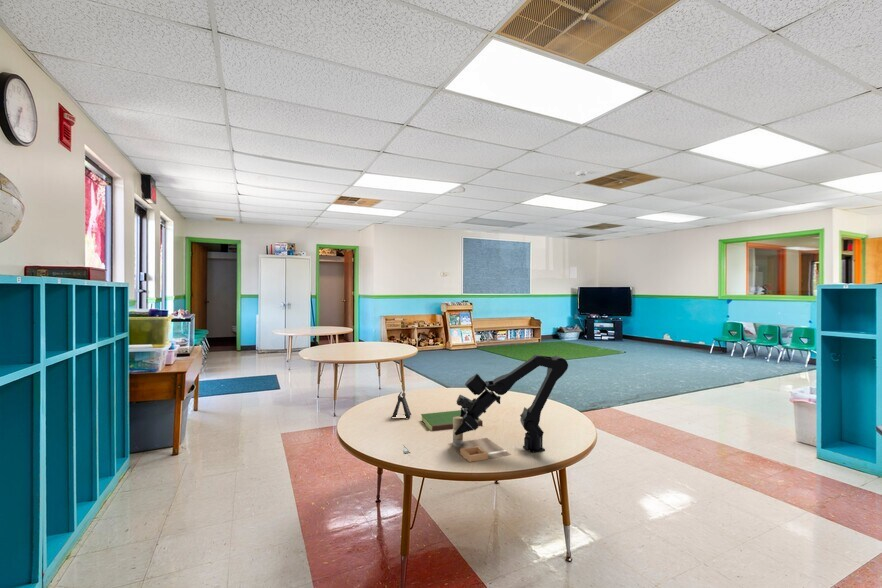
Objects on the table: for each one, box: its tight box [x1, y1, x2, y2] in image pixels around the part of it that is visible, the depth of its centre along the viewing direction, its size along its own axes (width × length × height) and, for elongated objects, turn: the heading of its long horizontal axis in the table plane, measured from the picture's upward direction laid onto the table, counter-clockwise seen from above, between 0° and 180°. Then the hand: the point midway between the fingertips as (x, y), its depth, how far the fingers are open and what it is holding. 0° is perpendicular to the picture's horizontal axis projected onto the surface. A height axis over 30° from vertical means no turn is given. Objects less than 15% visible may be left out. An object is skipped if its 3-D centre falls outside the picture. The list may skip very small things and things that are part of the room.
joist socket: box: [459, 446, 489, 463], centre depth 150 cm, size 8×8×2 cm
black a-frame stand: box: [391, 391, 412, 419], centre depth 200 cm, size 9×6×12 cm, turn 86°
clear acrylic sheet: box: [448, 437, 512, 463], centre depth 157 cm, size 18×19×1 cm
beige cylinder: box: [452, 417, 464, 447], centre depth 161 cm, size 4×4×11 cm
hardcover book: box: [420, 409, 484, 432], centre depth 190 cm, size 25×19×4 cm
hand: (454, 430), depth 161 cm, fingers open, 9 cm apart
